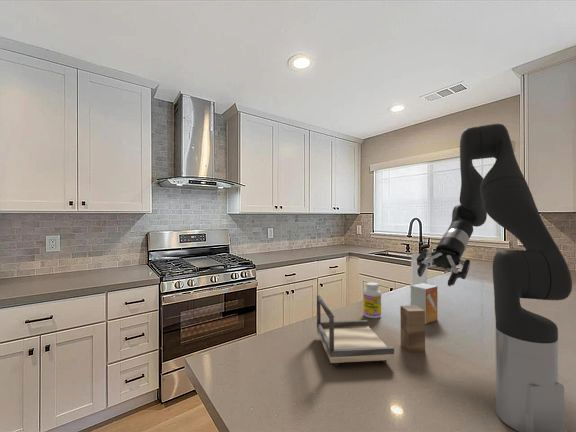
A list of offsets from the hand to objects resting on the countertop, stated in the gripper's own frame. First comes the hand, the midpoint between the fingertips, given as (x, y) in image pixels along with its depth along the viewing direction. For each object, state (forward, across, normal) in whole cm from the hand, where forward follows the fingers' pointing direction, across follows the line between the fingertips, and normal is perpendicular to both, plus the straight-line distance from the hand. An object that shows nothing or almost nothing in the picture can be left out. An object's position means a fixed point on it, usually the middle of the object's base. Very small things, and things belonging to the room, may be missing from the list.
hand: (433, 279), depth 86 cm
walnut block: (+17, 0, +13) cm, 22 cm away
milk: (-18, -15, +44) cm, 50 cm away
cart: (+30, -13, +6) cm, 33 cm away
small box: (-3, -6, +30) cm, 31 cm away
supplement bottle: (+7, -22, +26) cm, 35 cm away
